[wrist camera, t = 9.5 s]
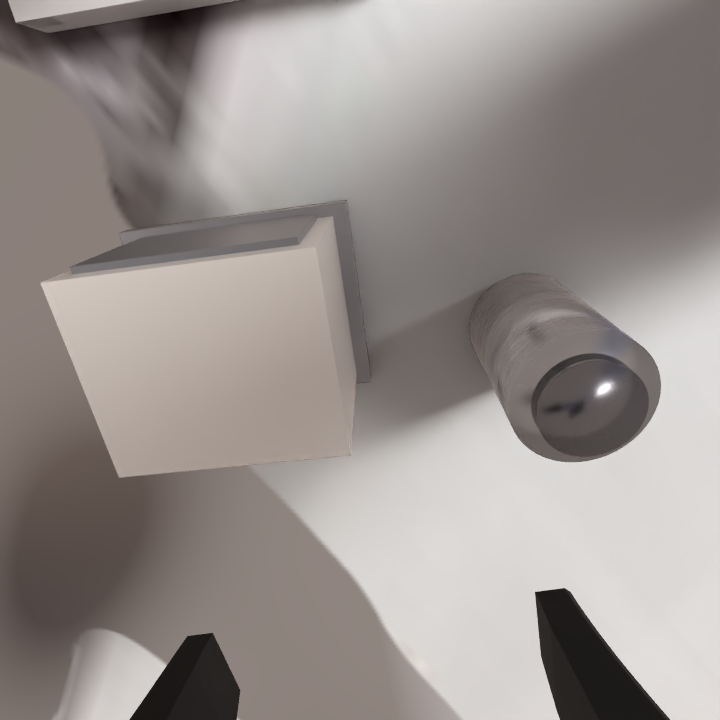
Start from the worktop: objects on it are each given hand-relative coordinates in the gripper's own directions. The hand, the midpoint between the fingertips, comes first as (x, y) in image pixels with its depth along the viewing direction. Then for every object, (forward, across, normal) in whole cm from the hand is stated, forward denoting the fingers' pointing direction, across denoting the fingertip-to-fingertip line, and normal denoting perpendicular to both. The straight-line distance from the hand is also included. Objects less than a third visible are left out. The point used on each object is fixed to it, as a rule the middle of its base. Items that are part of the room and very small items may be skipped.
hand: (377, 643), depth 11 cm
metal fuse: (+10, -6, -2) cm, 12 cm away
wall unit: (+10, +4, -5) cm, 12 cm away
